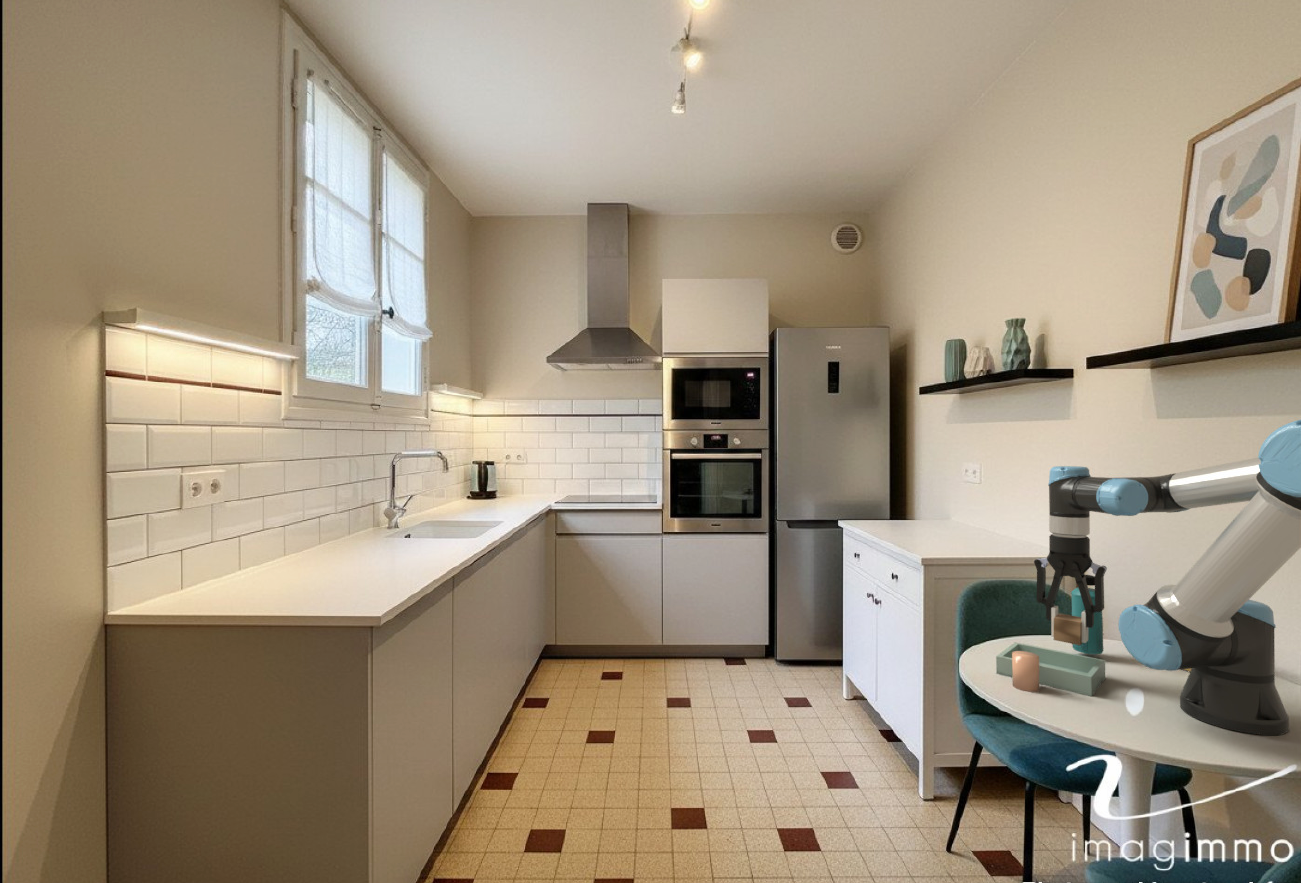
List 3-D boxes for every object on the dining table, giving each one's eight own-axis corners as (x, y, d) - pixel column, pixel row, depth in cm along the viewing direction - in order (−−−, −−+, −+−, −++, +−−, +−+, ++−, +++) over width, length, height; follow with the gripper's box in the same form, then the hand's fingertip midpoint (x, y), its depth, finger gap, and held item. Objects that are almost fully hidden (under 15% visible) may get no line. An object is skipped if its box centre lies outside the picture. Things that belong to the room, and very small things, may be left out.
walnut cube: (1085, 640, 139) (1085, 617, 139) (1080, 645, 135) (1080, 622, 135) (1059, 635, 142) (1059, 613, 142) (1053, 640, 139) (1053, 617, 139)
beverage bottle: (1110, 660, 149) (1109, 578, 149) (1082, 661, 149) (1081, 578, 149) (1091, 651, 155) (1090, 572, 155) (1065, 651, 156) (1064, 572, 156)
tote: (1105, 678, 138) (1105, 660, 138) (1091, 696, 128) (1091, 677, 128) (1015, 658, 151) (1015, 642, 151) (996, 673, 141) (996, 656, 141)
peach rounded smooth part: (1042, 687, 133) (1042, 654, 134) (1035, 693, 130) (1035, 660, 130) (1016, 680, 137) (1016, 649, 137) (1009, 687, 134) (1009, 654, 134)
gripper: (1122, 537, 135) (1122, 643, 135) (1028, 529, 148) (1029, 626, 148) (1115, 541, 130) (1116, 652, 130) (1019, 532, 143) (1019, 633, 143)
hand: (1069, 638), depth 139 cm, fingers closed on walnut cube, 5 cm apart
